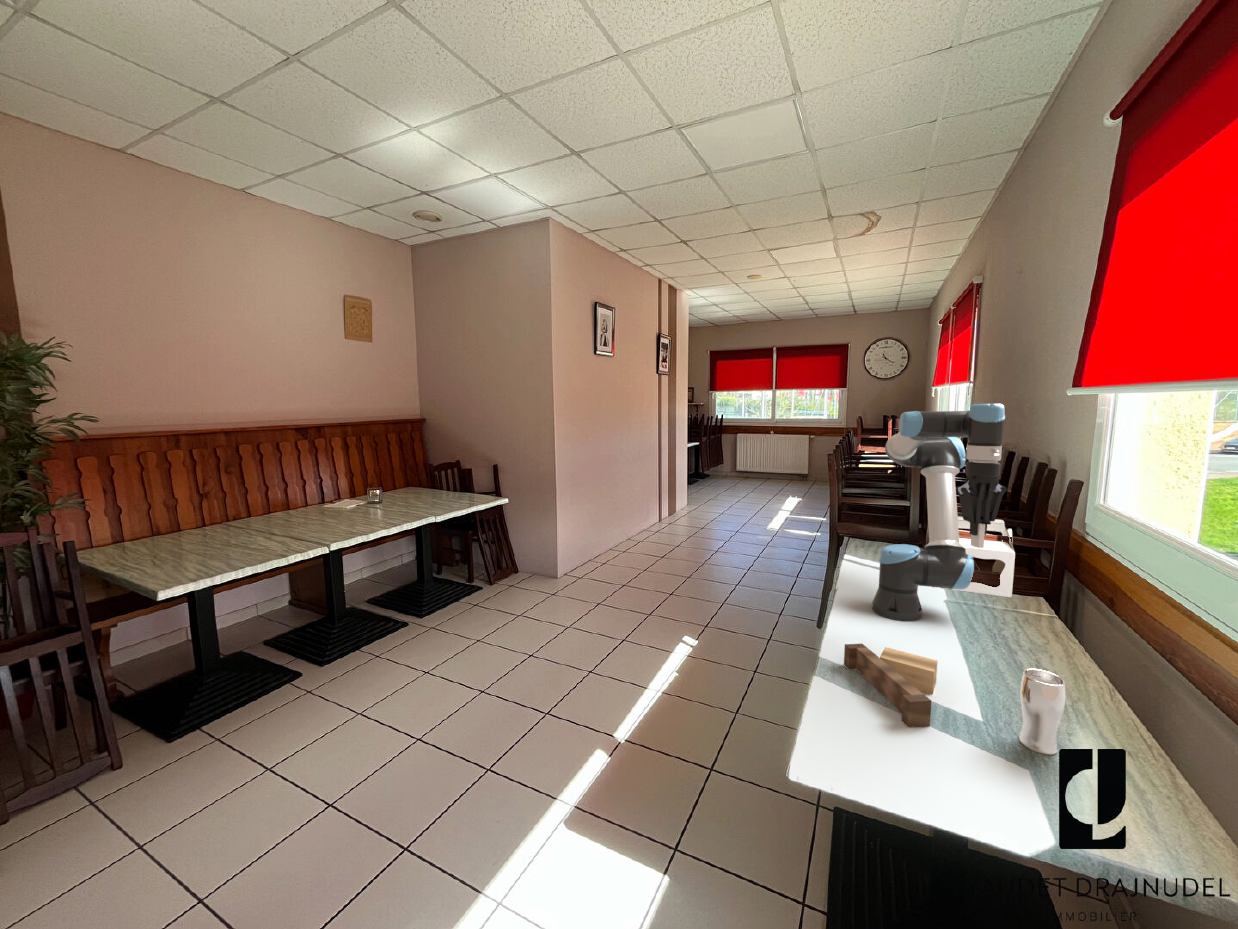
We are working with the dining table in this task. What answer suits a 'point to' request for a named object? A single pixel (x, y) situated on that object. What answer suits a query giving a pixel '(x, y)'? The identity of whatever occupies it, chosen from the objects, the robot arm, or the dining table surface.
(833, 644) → the dining table surface
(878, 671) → the brown wooden bar
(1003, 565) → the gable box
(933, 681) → the oak block
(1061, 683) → the silver metal tumbler
